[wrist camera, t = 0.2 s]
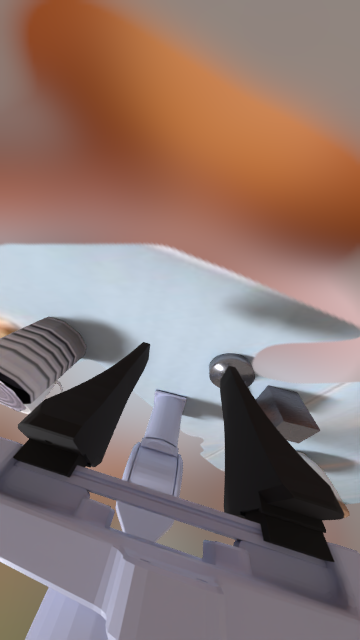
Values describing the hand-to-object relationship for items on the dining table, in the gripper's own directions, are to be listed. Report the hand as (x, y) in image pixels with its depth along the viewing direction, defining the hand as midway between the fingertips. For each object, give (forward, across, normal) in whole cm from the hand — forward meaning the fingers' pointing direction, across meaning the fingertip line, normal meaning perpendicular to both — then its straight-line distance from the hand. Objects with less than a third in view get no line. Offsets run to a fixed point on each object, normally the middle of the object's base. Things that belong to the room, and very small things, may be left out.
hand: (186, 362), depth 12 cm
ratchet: (+10, -13, +15) cm, 23 cm away
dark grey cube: (+10, -21, +14) cm, 27 cm away
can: (+10, +26, +15) cm, 32 cm away
